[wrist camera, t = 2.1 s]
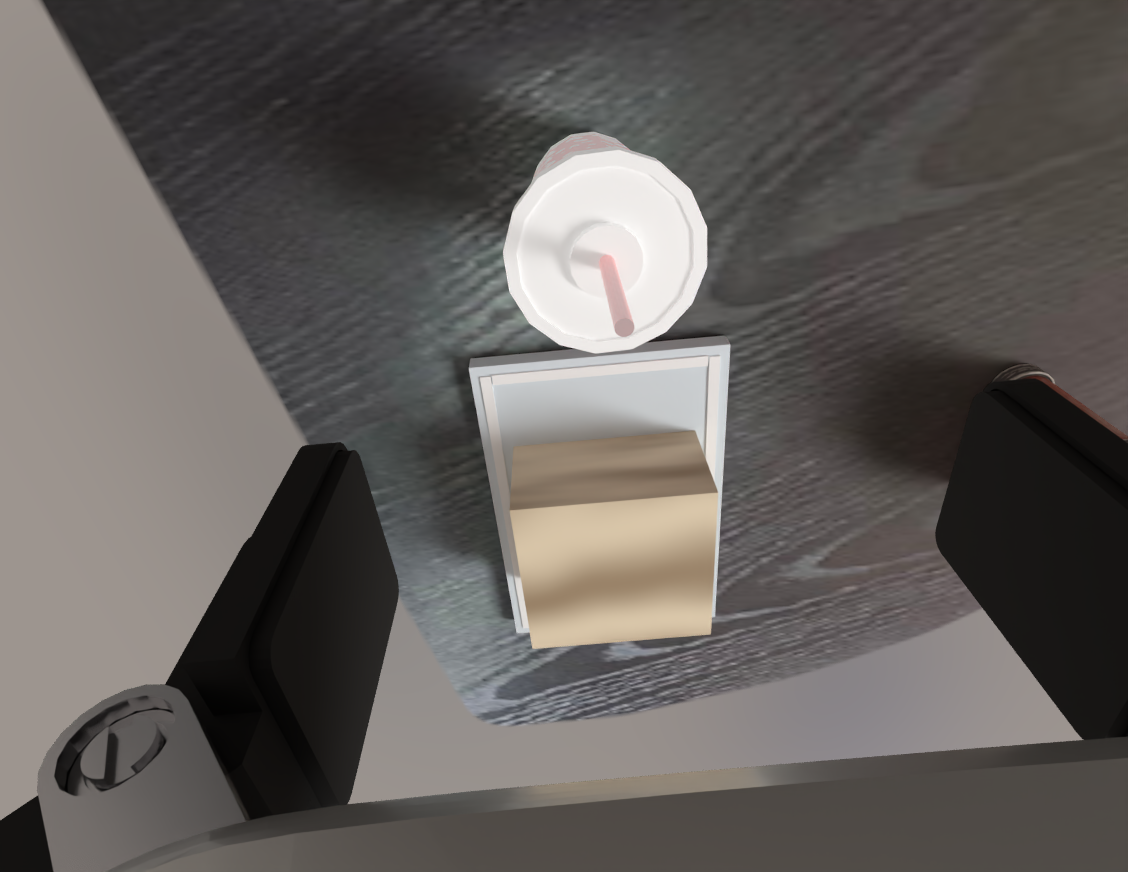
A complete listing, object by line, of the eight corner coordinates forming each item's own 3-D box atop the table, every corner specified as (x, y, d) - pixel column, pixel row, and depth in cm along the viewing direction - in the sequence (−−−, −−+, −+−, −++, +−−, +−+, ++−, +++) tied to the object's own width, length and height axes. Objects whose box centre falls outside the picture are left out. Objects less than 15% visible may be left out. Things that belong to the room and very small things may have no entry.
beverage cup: (598, 72, 25) (652, 124, 13) (690, 200, 27) (804, 339, 16) (482, 184, 27) (436, 316, 15) (578, 292, 29) (603, 477, 18)
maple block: (513, 446, 33) (509, 510, 28) (695, 430, 32) (718, 492, 28) (533, 577, 37) (532, 649, 33) (691, 564, 37) (710, 634, 33)
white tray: (470, 358, 31) (468, 368, 30) (725, 335, 31) (730, 345, 30) (517, 620, 41) (516, 634, 40) (711, 604, 40) (715, 618, 40)
